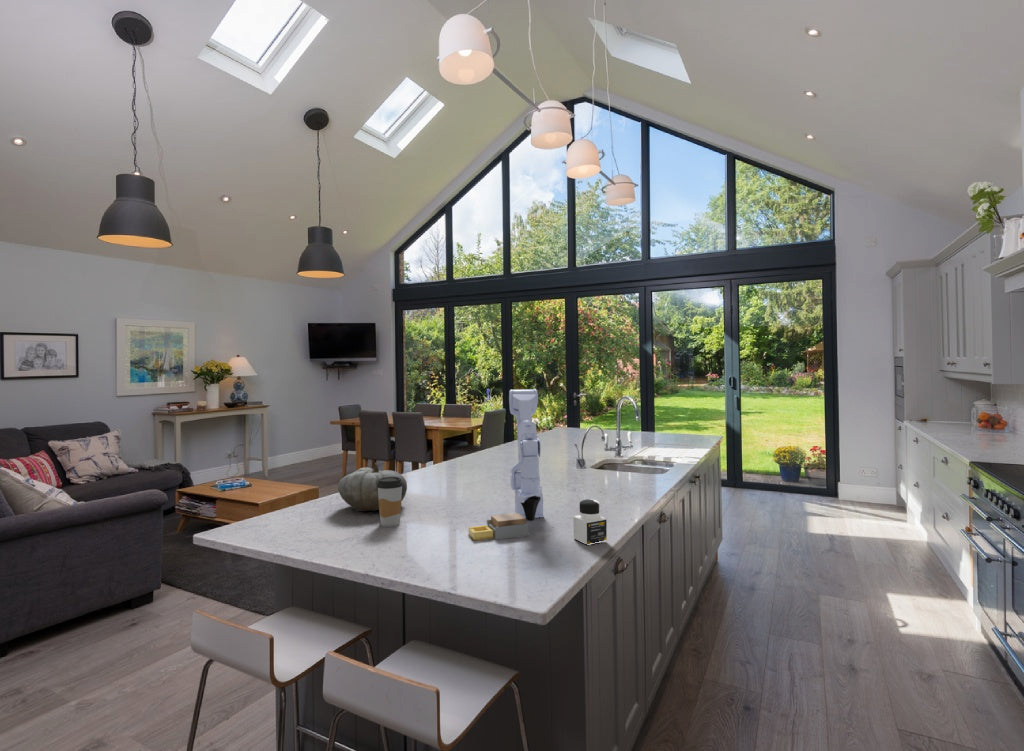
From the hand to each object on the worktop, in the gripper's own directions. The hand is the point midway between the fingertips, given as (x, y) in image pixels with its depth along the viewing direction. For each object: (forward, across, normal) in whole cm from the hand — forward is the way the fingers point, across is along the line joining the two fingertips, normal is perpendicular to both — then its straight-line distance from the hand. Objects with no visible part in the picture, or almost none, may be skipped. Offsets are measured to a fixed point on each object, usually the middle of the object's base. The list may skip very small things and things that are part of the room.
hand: (530, 520), depth 174 cm
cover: (+1, +5, -5) cm, 7 cm away
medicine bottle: (+3, +2, +20) cm, 21 cm away
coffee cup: (+3, +12, -45) cm, 47 cm away
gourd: (+4, -2, -65) cm, 65 cm away
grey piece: (+3, +6, -5) cm, 8 cm away
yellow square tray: (+3, +12, -11) cm, 17 cm away
